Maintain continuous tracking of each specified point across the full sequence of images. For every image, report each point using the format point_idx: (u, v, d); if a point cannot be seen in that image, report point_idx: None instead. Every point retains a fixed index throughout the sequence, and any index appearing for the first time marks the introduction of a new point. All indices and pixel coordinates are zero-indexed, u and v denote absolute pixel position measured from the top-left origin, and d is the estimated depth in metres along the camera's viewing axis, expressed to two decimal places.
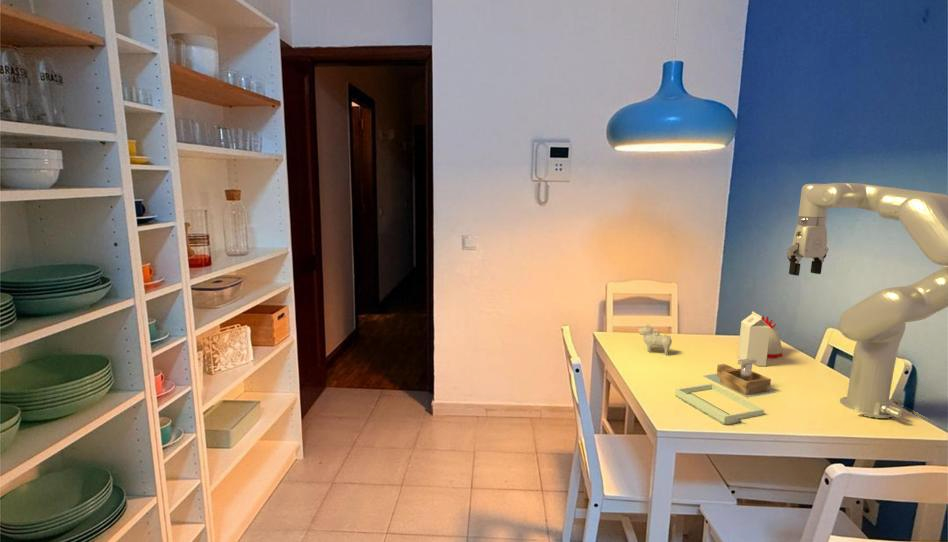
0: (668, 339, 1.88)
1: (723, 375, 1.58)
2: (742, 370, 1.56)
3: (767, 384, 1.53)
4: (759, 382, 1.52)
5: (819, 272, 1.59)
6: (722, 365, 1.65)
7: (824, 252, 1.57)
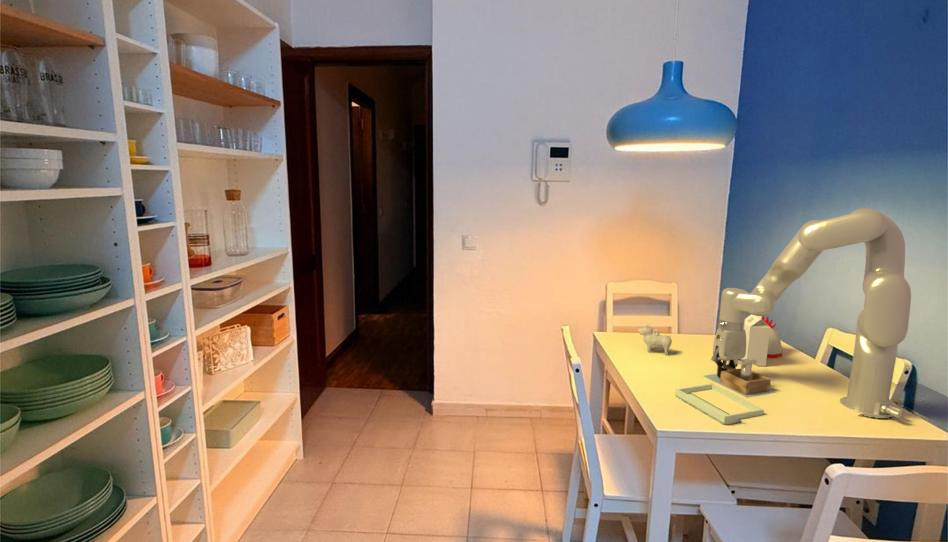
0: (668, 339, 1.88)
1: (723, 375, 1.58)
2: (742, 370, 1.56)
3: (767, 384, 1.53)
4: (759, 382, 1.52)
5: None
6: None
7: (744, 354, 1.61)
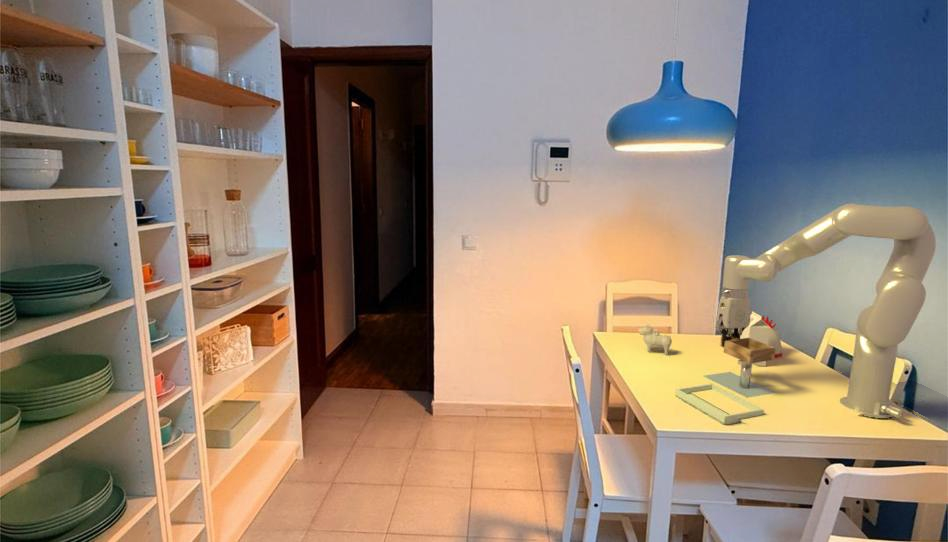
0: (668, 339, 1.88)
1: (727, 344, 1.57)
2: (742, 370, 1.56)
3: (771, 353, 1.51)
4: (763, 351, 1.50)
5: None
6: None
7: (748, 322, 1.59)
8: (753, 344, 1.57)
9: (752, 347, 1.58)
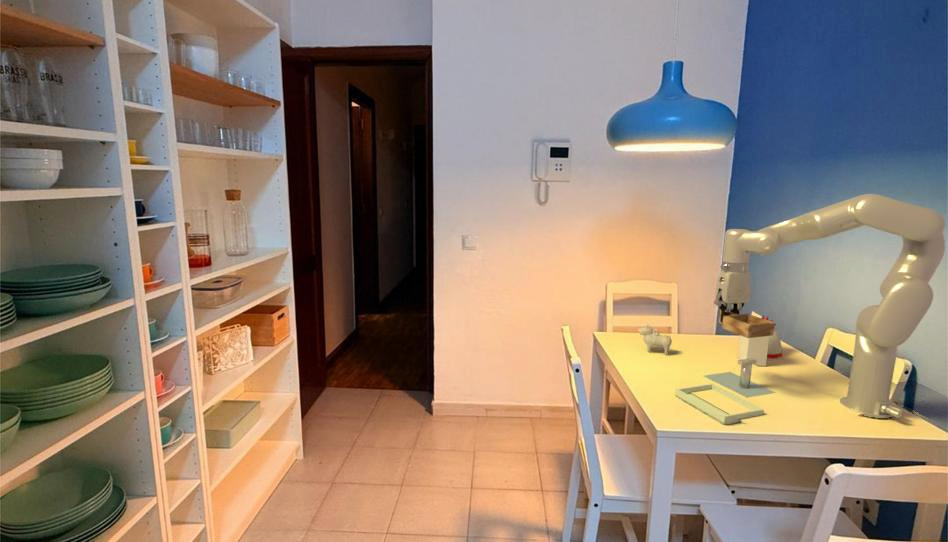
0: (668, 339, 1.88)
1: (725, 320, 1.53)
2: (742, 370, 1.56)
3: (771, 328, 1.48)
4: (762, 325, 1.47)
5: None
6: None
7: (748, 298, 1.56)
8: (753, 320, 1.54)
9: (751, 323, 1.55)
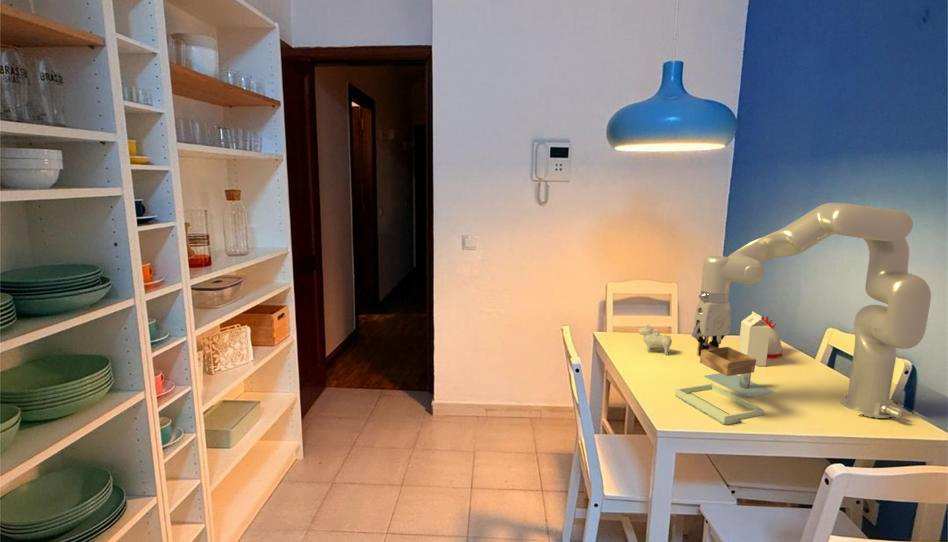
0: (668, 339, 1.88)
1: (703, 354, 1.42)
2: None
3: (752, 365, 1.37)
4: (743, 362, 1.35)
5: None
6: None
7: (728, 330, 1.44)
8: (733, 354, 1.43)
9: (731, 358, 1.44)
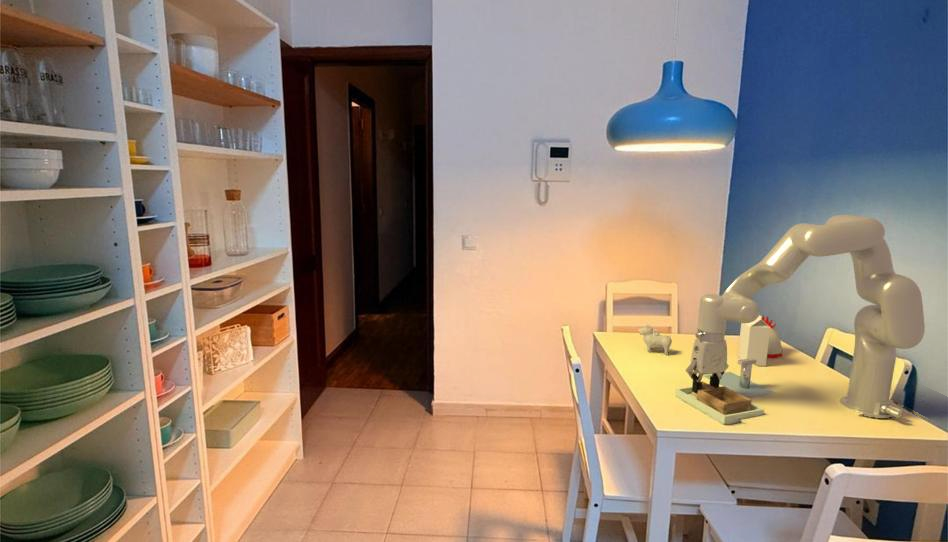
0: (668, 339, 1.88)
1: (700, 394, 1.45)
2: (742, 370, 1.56)
3: (747, 405, 1.39)
4: (738, 403, 1.38)
5: None
6: None
7: (724, 367, 1.46)
8: (729, 394, 1.45)
9: (727, 397, 1.46)
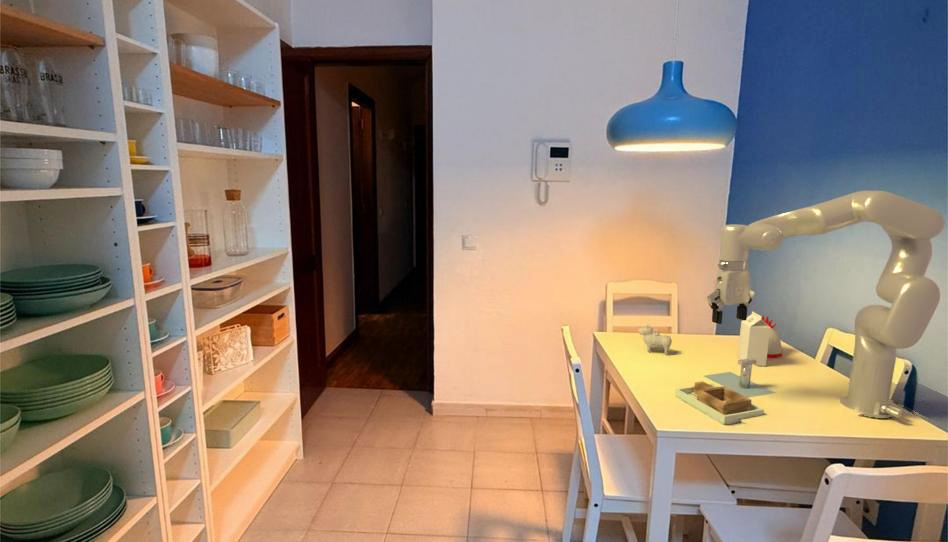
0: (668, 339, 1.88)
1: (700, 394, 1.45)
2: (742, 370, 1.56)
3: (747, 405, 1.39)
4: (738, 403, 1.38)
5: (744, 318, 1.48)
6: (700, 383, 1.51)
7: (748, 298, 1.45)
8: (729, 394, 1.45)
9: (727, 397, 1.46)
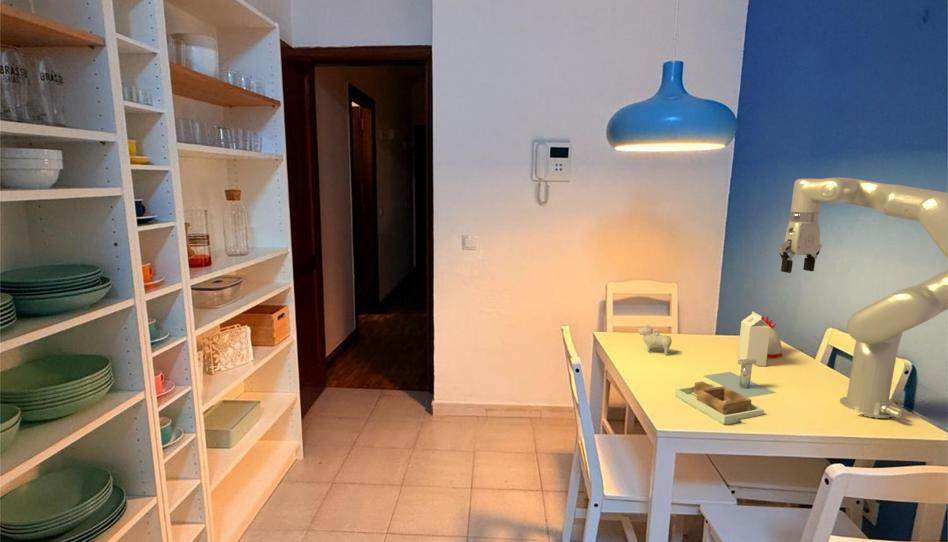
0: (668, 339, 1.88)
1: (700, 394, 1.45)
2: (742, 370, 1.56)
3: (747, 405, 1.39)
4: (738, 403, 1.38)
5: (812, 269, 1.56)
6: (700, 383, 1.51)
7: (817, 249, 1.53)
8: (729, 394, 1.45)
9: (727, 397, 1.46)
